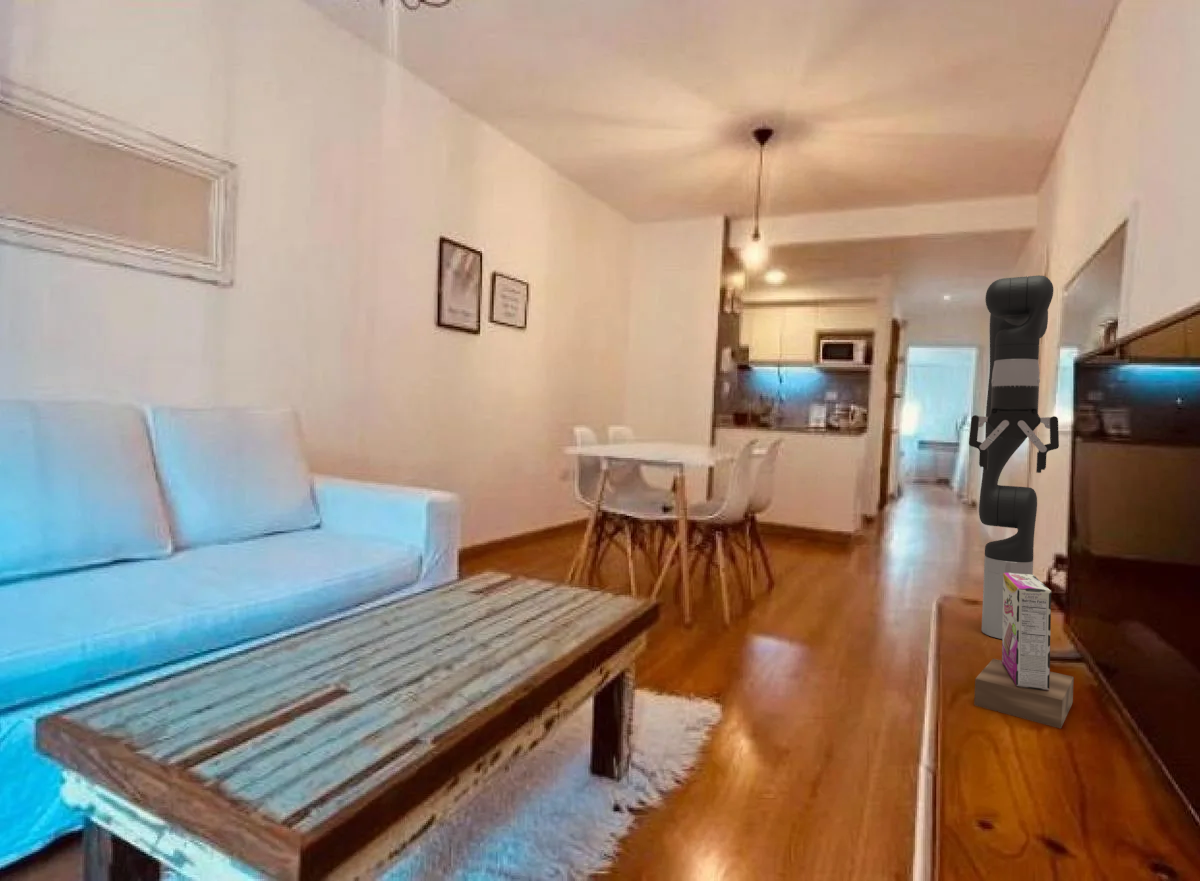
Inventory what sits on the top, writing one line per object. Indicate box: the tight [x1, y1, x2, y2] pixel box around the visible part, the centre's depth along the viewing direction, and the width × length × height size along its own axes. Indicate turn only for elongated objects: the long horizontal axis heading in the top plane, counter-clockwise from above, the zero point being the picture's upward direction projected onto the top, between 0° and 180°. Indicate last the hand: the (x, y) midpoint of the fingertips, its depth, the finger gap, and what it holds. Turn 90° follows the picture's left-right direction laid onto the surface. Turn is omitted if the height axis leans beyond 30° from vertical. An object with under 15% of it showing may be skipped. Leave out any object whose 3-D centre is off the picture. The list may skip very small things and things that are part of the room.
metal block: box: [973, 658, 1075, 729], centre depth 112 cm, size 13×12×5 cm
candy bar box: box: [1001, 573, 1052, 690], centre depth 112 cm, size 11×5×16 cm, turn 160°
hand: (1011, 471), depth 125 cm, fingers open, 8 cm apart
